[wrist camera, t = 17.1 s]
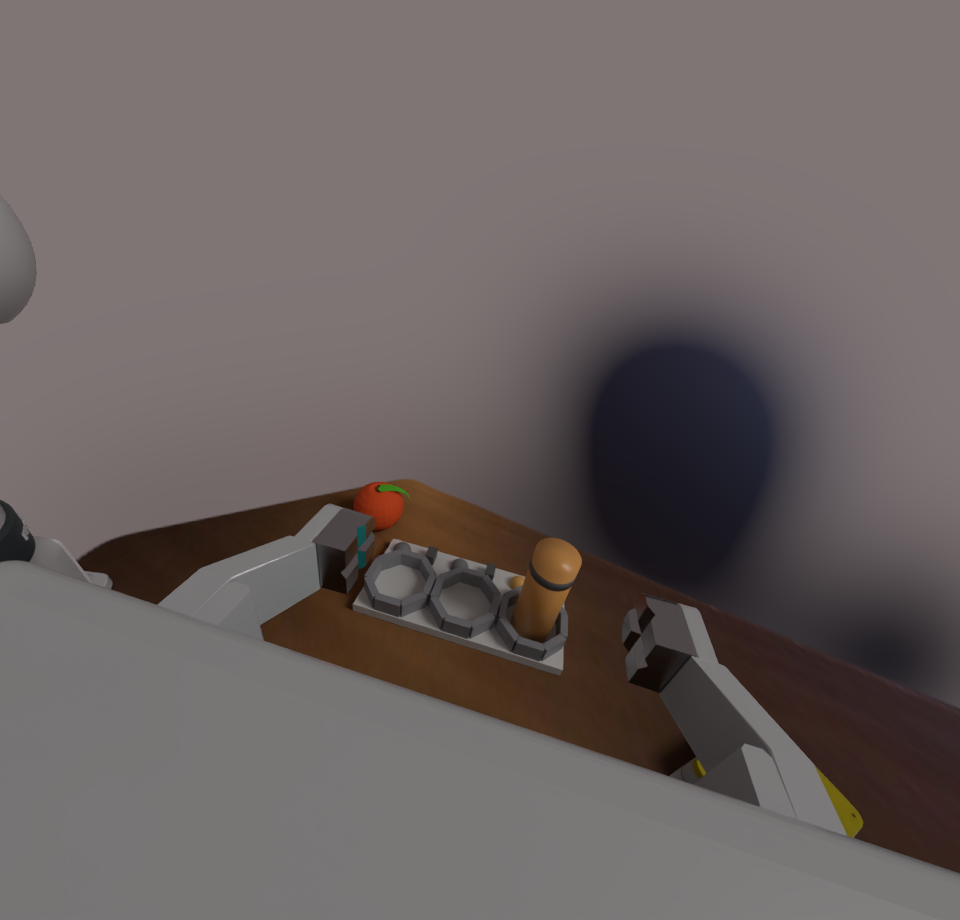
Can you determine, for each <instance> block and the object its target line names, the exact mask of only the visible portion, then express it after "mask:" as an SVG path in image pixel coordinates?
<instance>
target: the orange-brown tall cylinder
mask: <svg viewBox="0 0 960 920" xmlns="http://www.w3.org/2000/svg"><path fill="white" fill-rule="evenodd" d="M581 563H582V560H581V556H580V554H579V552H578V551H577V550H576V549H575V548H574V547H573V546H572V545H571V544H569V543H568V542H566V541H564V540H561V539H557V538H545V539H543V540H541V541H539V542H538V544H537V545H536V548H535V551H534V554H533V555H532V558H531V561H530V564H529V568H528V571H527V574H526V577H525V580H524V583H523V585H522V588H521V591H520V594H519V597H518V600H517V603H516V605H515V608H514V611H513V614H512V617H511V621H510V624H511V625H512V627H513V628H514V629H515V631H516V632H517V634H518V635H519V636H520V637H523V638H526V639H529V640H533V641H536V642H539V643H544V642H545V641H546V640H547V638H548V636H549V634H550V632H551V629H552V627H553V625H554V623H555V621H556V619H557V616H558V614H559V612H560V610H561V608H562V606H563V603H564V601H565V599H566V597H567V595H568V593H569V590H570V588H571V586H572V585H573V583H574V581H575V579H576V577H577V573H578V571H579V569H580V567H581Z"/></svg>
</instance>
